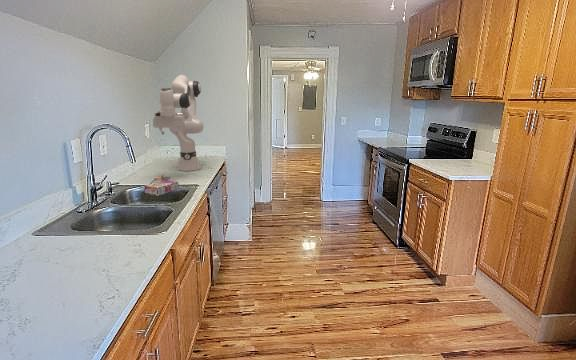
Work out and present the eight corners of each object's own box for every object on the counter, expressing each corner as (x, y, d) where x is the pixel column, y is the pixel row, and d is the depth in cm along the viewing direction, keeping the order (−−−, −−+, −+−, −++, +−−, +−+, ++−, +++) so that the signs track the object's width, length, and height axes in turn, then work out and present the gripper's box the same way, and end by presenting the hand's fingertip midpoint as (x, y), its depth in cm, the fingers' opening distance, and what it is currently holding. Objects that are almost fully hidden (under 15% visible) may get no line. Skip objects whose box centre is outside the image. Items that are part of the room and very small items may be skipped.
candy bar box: (178, 181, 205) (157, 188, 191) (179, 189, 206) (158, 196, 192) (165, 179, 210) (143, 185, 196) (166, 186, 211) (144, 193, 197)
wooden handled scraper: (157, 178, 229) (156, 174, 229) (166, 178, 230) (165, 174, 229) (151, 185, 213) (151, 180, 212) (161, 184, 214) (160, 180, 213)
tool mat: (156, 178, 233) (156, 177, 233) (170, 177, 235) (170, 176, 234) (147, 187, 210) (146, 186, 210) (163, 186, 212) (163, 185, 211)
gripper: (185, 113, 224) (186, 133, 228) (153, 113, 222) (155, 133, 225) (183, 113, 218) (185, 134, 222) (151, 113, 216) (153, 135, 219)
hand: (170, 134), depth 223 cm, fingers open, 8 cm apart
